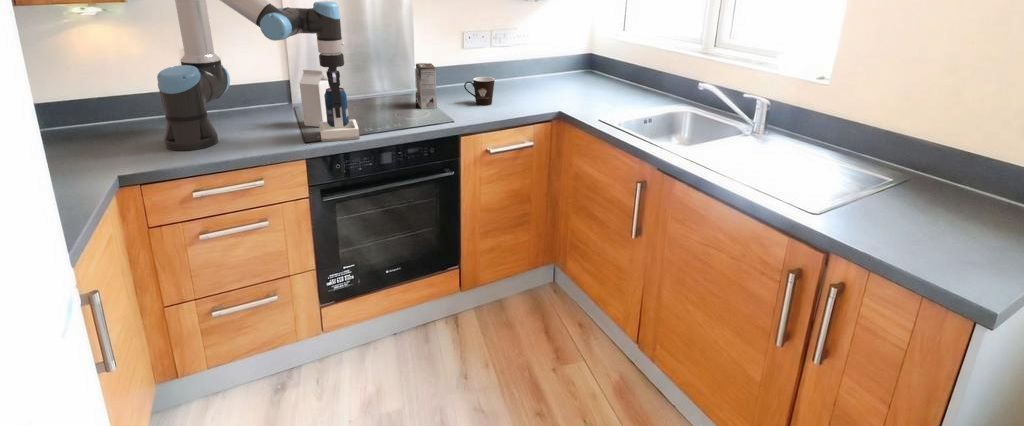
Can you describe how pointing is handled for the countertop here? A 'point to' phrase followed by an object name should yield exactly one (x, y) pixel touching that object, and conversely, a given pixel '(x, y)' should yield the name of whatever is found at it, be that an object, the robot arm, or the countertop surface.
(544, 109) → the countertop surface
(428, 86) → the coffee box
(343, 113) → the soda can
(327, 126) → the bin
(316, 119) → the milk carton
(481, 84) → the coffee mug
